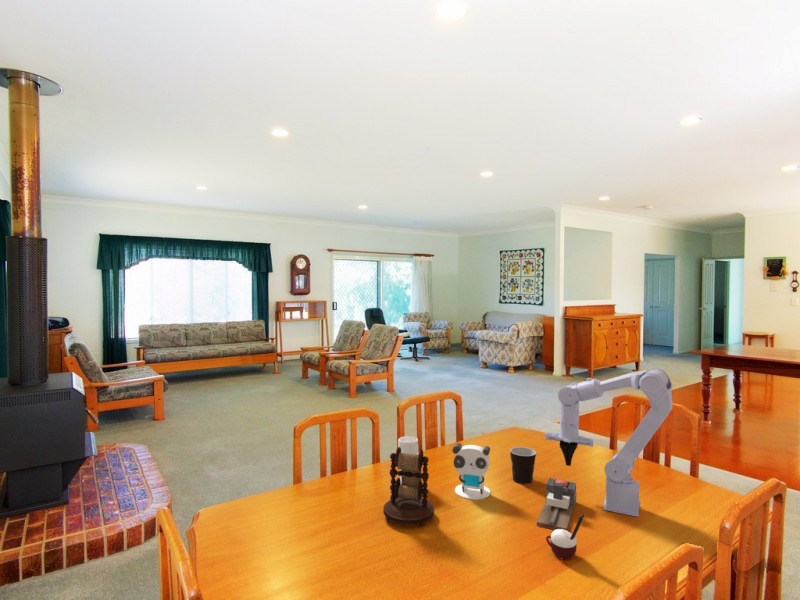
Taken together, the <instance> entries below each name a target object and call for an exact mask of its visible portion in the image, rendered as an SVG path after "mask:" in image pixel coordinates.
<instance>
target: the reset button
mask: <svg viewBox="0 0 800 600" xmlns="http://www.w3.org/2000/svg"><path fill="white" fill-rule="evenodd" d="M567 481H568V480H565V479H558V480H556V481H555V482H558V483H563V487H566V488H567V484H568V483H567Z"/></svg>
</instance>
